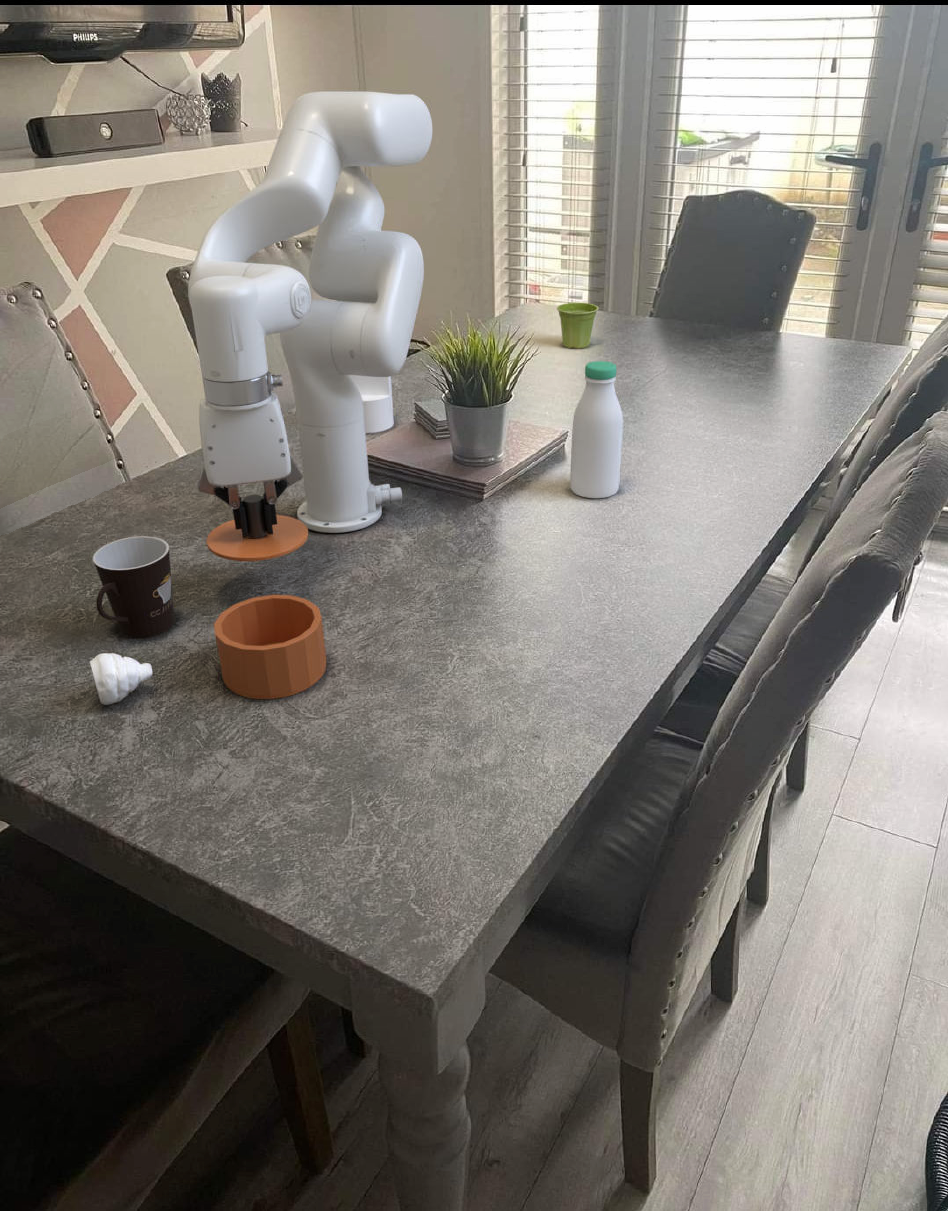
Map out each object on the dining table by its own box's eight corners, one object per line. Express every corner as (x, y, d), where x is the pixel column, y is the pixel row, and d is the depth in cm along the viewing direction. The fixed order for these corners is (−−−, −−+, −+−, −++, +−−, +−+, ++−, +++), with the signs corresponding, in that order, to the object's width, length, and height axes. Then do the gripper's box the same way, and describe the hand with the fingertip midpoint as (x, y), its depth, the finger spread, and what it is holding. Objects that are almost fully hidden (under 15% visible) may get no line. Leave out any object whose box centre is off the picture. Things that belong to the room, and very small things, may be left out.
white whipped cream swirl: (161, 699, 105) (152, 658, 102) (104, 715, 103) (93, 673, 100) (151, 674, 109) (142, 634, 106) (96, 689, 107) (85, 647, 104)
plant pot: (604, 346, 222) (606, 308, 217) (571, 353, 218) (572, 314, 213) (581, 337, 229) (582, 300, 224) (548, 343, 225) (548, 305, 220)
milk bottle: (622, 499, 148) (631, 371, 138) (572, 500, 148) (577, 372, 138) (615, 479, 155) (623, 356, 145) (567, 480, 155) (572, 357, 145)
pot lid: (301, 516, 129) (297, 474, 126) (315, 557, 118) (310, 512, 115) (205, 529, 126) (198, 485, 123) (210, 572, 115) (202, 525, 112)
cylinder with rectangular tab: (395, 416, 183) (392, 353, 177) (391, 432, 175) (387, 367, 169) (348, 416, 183) (343, 353, 177) (342, 433, 175) (336, 368, 169)
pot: (318, 635, 116) (312, 588, 112) (333, 688, 106) (328, 639, 103) (219, 651, 113) (211, 603, 110) (226, 707, 103) (217, 657, 100)
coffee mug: (156, 599, 124) (141, 529, 119) (197, 621, 119) (183, 549, 114) (74, 638, 116) (54, 565, 111) (114, 662, 111) (96, 587, 106)
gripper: (302, 373, 117) (316, 511, 126) (165, 386, 113) (190, 528, 122) (311, 391, 111) (325, 535, 120) (166, 405, 107) (192, 553, 116)
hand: (257, 530), depth 121 cm, fingers closed on pot lid, 2 cm apart
